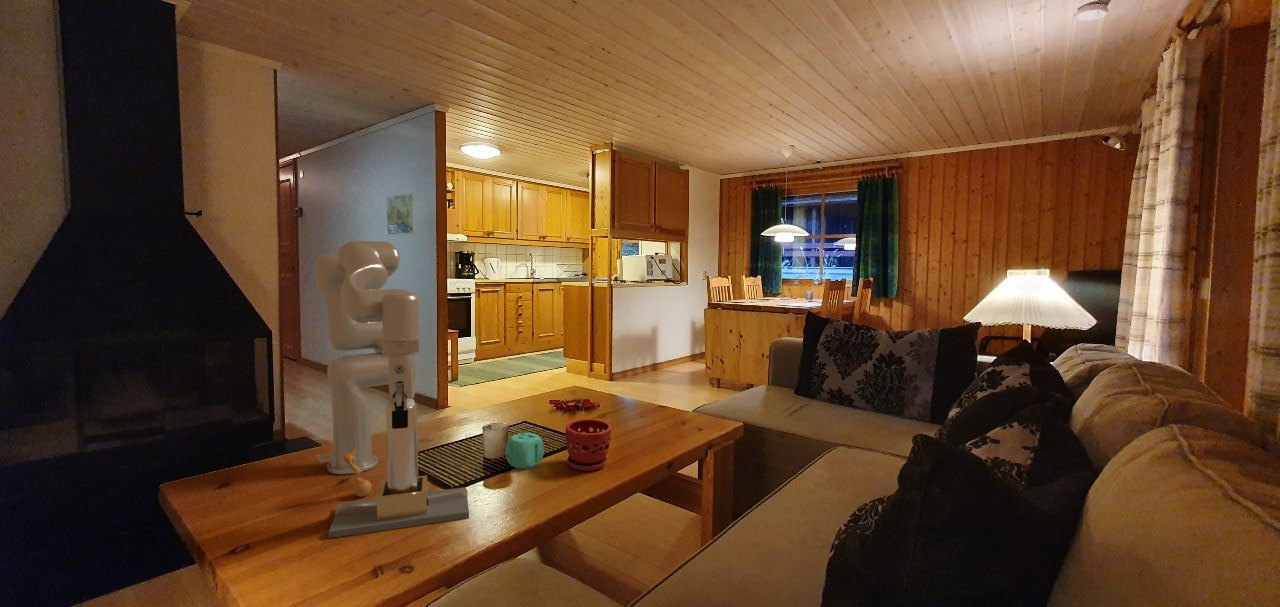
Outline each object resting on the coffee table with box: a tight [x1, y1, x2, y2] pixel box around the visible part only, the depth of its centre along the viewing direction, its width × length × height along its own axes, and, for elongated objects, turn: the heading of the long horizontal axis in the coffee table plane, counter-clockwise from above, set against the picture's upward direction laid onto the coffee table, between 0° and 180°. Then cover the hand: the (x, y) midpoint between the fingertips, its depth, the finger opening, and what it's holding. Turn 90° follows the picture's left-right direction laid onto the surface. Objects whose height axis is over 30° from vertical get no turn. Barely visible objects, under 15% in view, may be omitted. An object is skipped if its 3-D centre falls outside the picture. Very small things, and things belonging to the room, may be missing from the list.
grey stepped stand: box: [334, 475, 468, 521], centre depth 122 cm, size 28×10×5 cm, turn 111°
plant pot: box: [565, 418, 612, 472], centre depth 153 cm, size 13×13×12 cm
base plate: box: [328, 486, 470, 539], centre depth 122 cm, size 28×14×2 cm, turn 111°
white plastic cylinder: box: [385, 398, 419, 495], centre depth 121 cm, size 6×6×25 cm
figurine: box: [343, 450, 373, 498], centre depth 130 cm, size 8×6×12 cm
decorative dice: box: [504, 432, 545, 470], centre depth 153 cm, size 8×8×8 cm
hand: (401, 421), depth 121 cm, fingers open, 9 cm apart
